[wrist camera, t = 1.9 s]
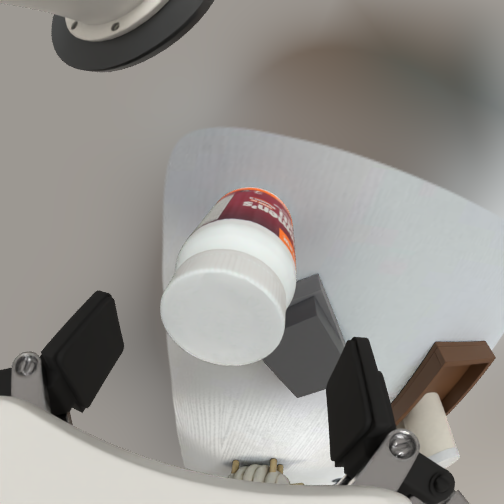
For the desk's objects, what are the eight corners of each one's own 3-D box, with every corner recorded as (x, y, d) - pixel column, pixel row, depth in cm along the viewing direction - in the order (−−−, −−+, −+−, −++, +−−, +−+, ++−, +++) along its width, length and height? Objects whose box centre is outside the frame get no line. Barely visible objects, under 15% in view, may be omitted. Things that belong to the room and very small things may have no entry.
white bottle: (407, 397, 28) (426, 466, 18) (445, 387, 27) (467, 451, 17) (395, 419, 30) (407, 481, 20) (430, 410, 29) (446, 468, 20)
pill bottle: (309, 221, 20) (333, 322, 10) (256, 275, 23) (236, 390, 12) (244, 167, 19) (199, 220, 9) (195, 229, 21) (128, 322, 11)
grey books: (249, 298, 24) (242, 335, 19) (320, 272, 22) (328, 308, 18) (288, 363, 27) (288, 400, 23) (348, 345, 25) (356, 382, 21)
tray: (435, 341, 24) (445, 362, 21) (485, 340, 24) (496, 357, 21) (349, 448, 36) (350, 463, 33) (395, 444, 36) (397, 458, 33)
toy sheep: (210, 455, 42) (200, 502, 32) (294, 449, 37) (291, 505, 27) (236, 471, 45) (229, 513, 35) (311, 465, 41) (310, 512, 31)
